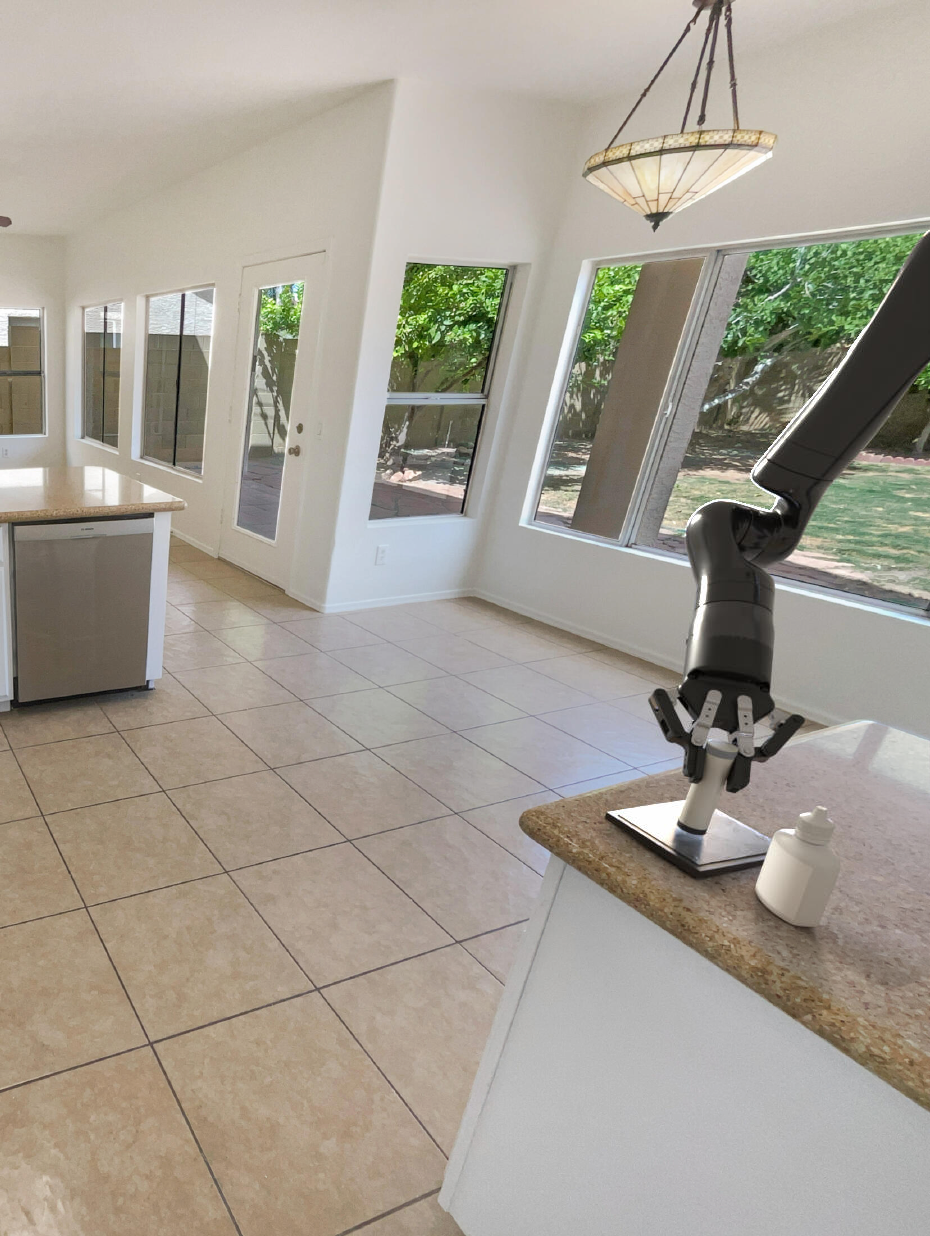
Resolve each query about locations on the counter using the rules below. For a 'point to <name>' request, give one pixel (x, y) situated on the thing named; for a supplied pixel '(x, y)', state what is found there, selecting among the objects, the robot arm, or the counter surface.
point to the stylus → (707, 788)
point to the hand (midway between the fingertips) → (714, 785)
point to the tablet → (694, 839)
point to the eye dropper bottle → (800, 870)
